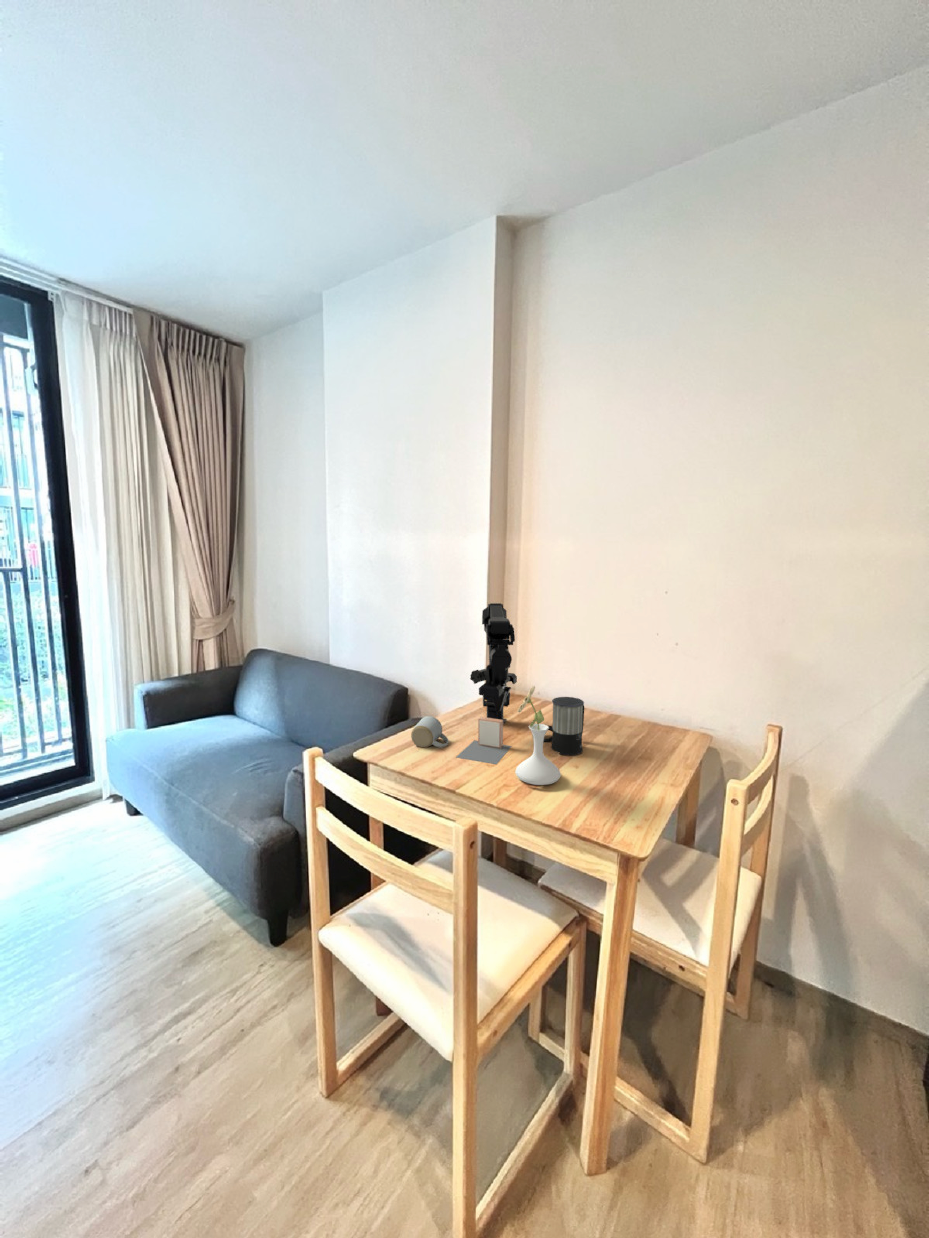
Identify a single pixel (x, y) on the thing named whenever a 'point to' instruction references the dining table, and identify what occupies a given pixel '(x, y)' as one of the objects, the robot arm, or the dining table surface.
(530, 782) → the flower in vase
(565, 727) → the milk frother
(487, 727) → the picture frame
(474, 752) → the mat
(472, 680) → the robot arm
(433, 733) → the ceramic mug
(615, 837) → the dining table surface
